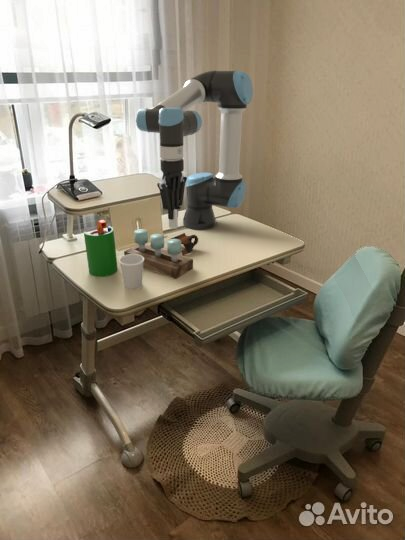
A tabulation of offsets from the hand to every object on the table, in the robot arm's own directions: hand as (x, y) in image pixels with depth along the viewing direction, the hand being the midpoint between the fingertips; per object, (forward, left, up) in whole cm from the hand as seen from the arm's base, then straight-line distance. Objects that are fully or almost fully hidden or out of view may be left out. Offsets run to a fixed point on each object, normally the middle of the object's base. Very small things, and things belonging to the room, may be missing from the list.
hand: (173, 227), depth 150 cm
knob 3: (0, 0, -14) cm, 14 cm away
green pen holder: (+15, -20, -17) cm, 31 cm away
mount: (0, -8, -17) cm, 19 cm away
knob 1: (0, -16, -14) cm, 21 cm away
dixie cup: (+17, -4, -17) cm, 25 cm away
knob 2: (0, -8, -14) cm, 16 cm away
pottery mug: (-17, -9, -17) cm, 25 cm away
